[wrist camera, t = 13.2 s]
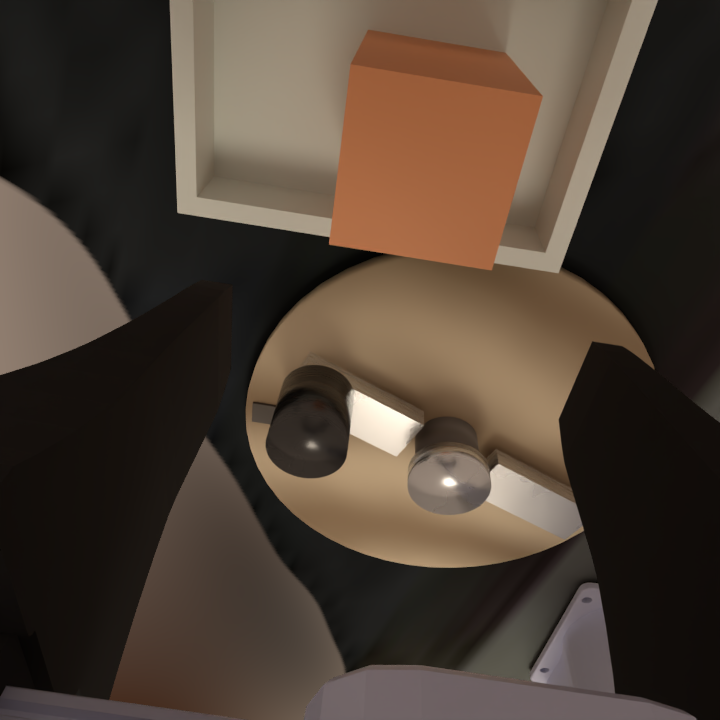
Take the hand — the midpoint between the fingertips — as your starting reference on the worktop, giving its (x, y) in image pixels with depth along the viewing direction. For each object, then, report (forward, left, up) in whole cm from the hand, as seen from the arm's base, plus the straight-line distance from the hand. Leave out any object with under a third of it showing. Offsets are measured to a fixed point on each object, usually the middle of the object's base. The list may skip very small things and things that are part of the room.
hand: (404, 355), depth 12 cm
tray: (+3, +1, -10) cm, 10 cm away
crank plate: (-10, -4, -10) cm, 15 cm away
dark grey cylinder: (-10, -3, -9) cm, 14 cm away
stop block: (+3, 0, -9) cm, 10 cm away
